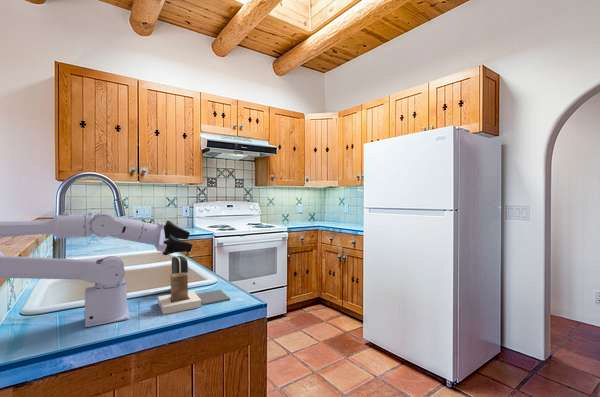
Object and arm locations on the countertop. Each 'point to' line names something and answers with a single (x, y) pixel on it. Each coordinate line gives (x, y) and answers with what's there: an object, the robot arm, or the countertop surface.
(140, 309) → the countertop surface
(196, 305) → the holder
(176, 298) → the peg
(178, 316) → the countertop surface
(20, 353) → the countertop surface
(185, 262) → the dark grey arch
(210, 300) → the mat
